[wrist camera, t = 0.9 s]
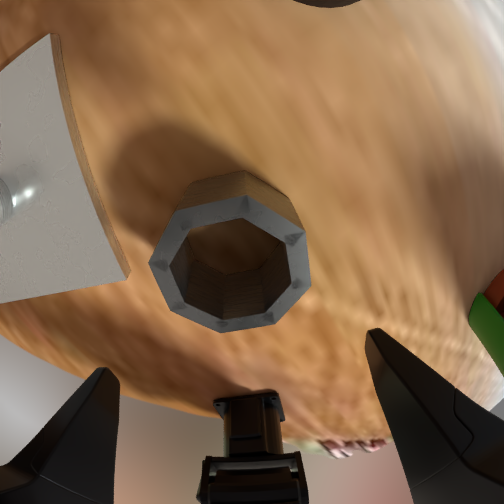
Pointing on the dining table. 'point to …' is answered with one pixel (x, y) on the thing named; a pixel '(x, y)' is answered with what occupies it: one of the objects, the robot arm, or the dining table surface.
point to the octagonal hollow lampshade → (238, 284)
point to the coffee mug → (327, 3)
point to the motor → (490, 319)
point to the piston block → (48, 186)
